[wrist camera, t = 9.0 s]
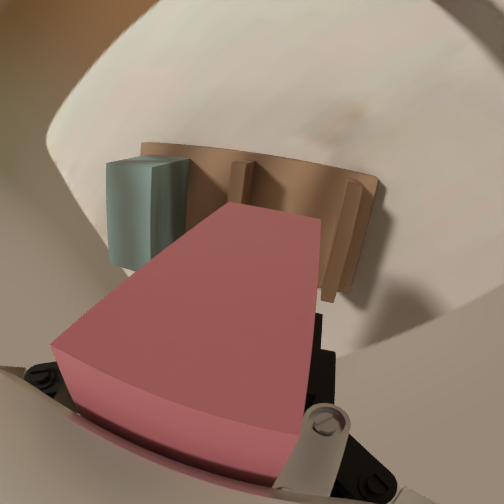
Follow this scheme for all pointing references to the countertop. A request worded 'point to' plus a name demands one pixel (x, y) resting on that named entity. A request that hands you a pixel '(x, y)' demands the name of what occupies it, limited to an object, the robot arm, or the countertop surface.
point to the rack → (233, 190)
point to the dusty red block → (206, 345)
